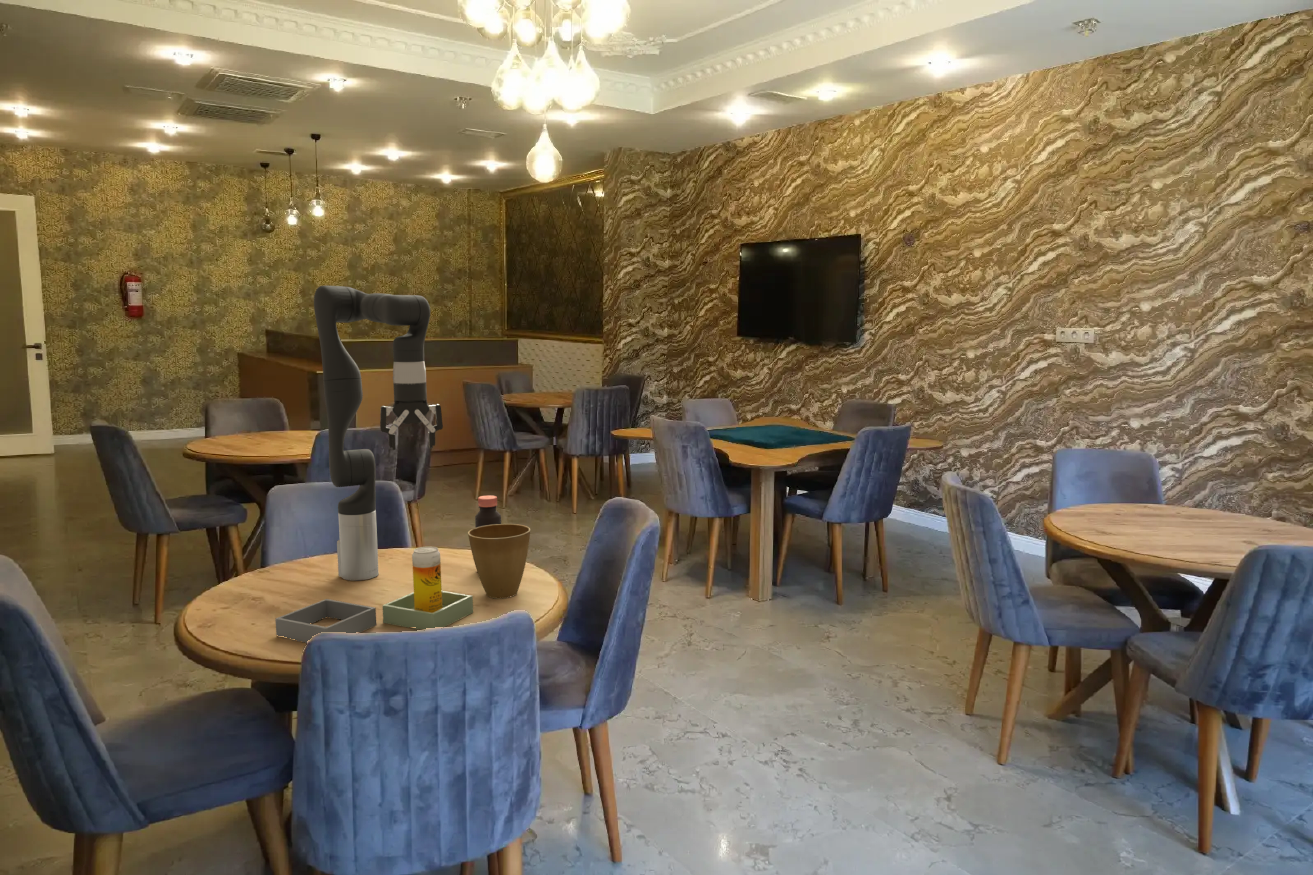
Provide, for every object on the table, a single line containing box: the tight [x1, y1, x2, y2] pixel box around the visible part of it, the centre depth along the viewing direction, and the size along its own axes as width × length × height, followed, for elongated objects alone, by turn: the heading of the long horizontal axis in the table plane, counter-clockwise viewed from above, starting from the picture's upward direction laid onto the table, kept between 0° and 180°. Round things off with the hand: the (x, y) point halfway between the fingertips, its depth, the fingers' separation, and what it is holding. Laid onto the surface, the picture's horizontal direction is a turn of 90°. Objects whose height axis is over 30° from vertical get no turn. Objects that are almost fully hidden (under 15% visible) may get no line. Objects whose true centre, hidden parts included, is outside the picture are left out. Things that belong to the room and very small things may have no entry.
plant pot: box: [467, 523, 531, 599], centre depth 217 cm, size 15×15×16 cm
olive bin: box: [382, 590, 474, 630], centre depth 201 cm, size 14×14×4 cm
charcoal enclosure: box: [275, 598, 377, 644], centre depth 193 cm, size 14×14×4 cm
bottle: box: [474, 494, 502, 528], centre depth 236 cm, size 7×7×20 cm
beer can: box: [411, 546, 443, 613], centre depth 200 cm, size 6×6×15 cm
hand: (412, 448), depth 213 cm, fingers open, 8 cm apart
